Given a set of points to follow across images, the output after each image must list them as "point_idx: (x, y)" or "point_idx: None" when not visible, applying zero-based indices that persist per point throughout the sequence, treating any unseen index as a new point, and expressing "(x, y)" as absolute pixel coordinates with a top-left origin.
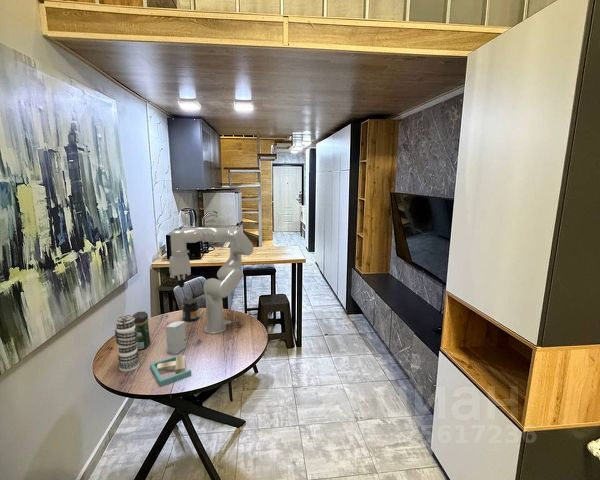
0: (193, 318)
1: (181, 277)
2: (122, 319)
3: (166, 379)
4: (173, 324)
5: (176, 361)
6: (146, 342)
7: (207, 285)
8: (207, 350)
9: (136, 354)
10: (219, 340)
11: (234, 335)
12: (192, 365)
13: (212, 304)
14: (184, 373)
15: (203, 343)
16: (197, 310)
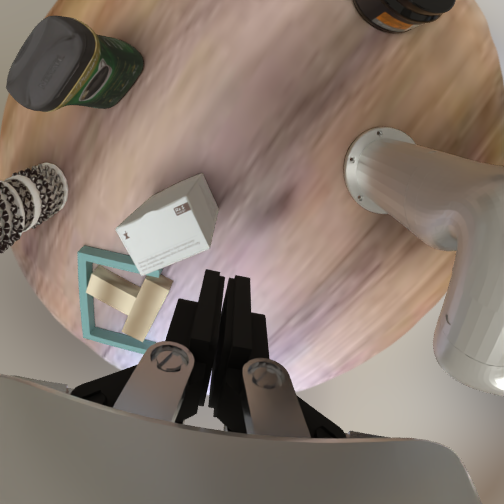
0: (382, 26)
1: (239, 392)
2: None
3: (96, 341)
4: (149, 242)
5: (136, 302)
6: (108, 103)
7: (494, 263)
8: (257, 280)
9: (39, 223)
10: (330, 254)
11: (384, 263)
12: None
13: (420, 235)
14: (136, 351)
15: (280, 229)
16: (418, 24)
